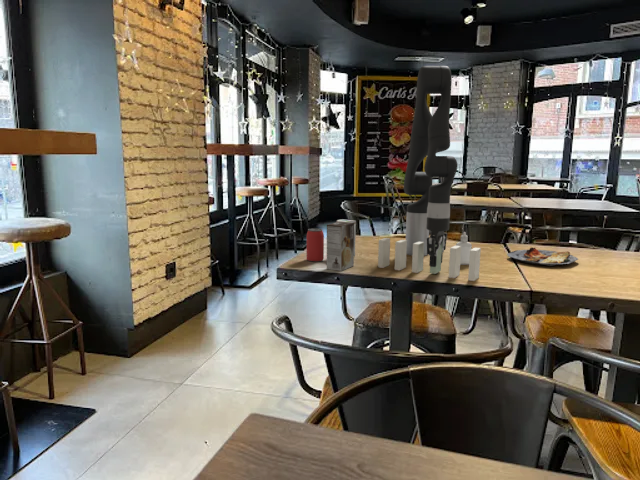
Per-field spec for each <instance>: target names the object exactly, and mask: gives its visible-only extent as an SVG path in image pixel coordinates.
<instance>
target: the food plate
mask: <svg viewBox="0 0 640 480" xmlns="http://www.w3.org/2000/svg"><path fill="white" fill-rule="evenodd" d="M506 254H507V255H506V256H507V257H509V258H513V259H514V260H519V261H520V262H522V263H526V264H532V265H538V266H539V265H540V266H541V265H542V266H549V267H553V266H557V265H558V266H559V265H562V266H563V265H566V264H567V265H569V264H571V263H574V262H576V261H578V260H579V258H578V257H576V256H574V255H573V254H571V252H570V251H555V250H548V249H537V248H536V247H530V248H529V249H517V250H513V251H511V252H507V253H506Z"/></svg>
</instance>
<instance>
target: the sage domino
mask: <svg viewBox="0 0 640 480" xmlns="http://www.w3.org/2000/svg"><path fill="white" fill-rule="evenodd" d="M441 245H442V244H441ZM441 245H440V249H439V250H438V252H437V262H436V267H430V266H429V274H433V275H435V274H438V273H440V272H441V271H442V263H441V256H442V247H441ZM435 247H437V245H435ZM432 251H433V249H432Z"/></svg>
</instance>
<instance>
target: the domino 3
mask: <svg viewBox="0 0 640 480" xmlns="http://www.w3.org/2000/svg"><path fill="white" fill-rule="evenodd" d="M411 256H412V255H411ZM424 259H425V257H424V242H416V243H414V244H413V256H412V258H411V260H412V261H411V273H415V274H417V273H420V272H422V271H423V270H424Z"/></svg>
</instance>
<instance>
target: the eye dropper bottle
mask: <svg viewBox="0 0 640 480" xmlns="http://www.w3.org/2000/svg"><path fill="white" fill-rule="evenodd" d="M468 238H469V237H468V235H467V232H466V231H463V233H462V234H461V235H460V241H458V242H457V243H455V245H456V246H461V258H460V266H461V265H462V266H464V265H465V266H469V258H470V250H471V249H473V248H472V247H473V246H472V243H471V242H469V241H468Z"/></svg>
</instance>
